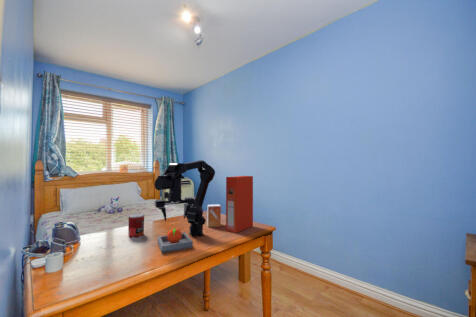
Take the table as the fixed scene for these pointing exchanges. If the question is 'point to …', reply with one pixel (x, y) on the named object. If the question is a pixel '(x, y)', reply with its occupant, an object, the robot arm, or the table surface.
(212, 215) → the small box
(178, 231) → the clementine
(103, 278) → the table surface
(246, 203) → the file binder
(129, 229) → the canned food
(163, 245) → the tray
